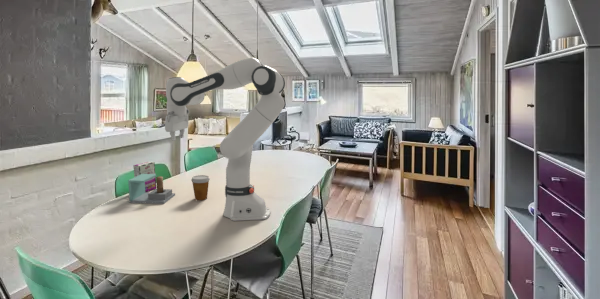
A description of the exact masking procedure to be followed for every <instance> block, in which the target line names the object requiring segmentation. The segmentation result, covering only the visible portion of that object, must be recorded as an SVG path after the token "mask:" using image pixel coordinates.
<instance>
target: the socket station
mask: <svg viewBox="0 0 600 299" xmlns="http://www.w3.org/2000/svg"><path fill="white" fill-rule="evenodd" d="M155 176H156V177H157V174H156V173H155V174H141V175H139V176H136V177H132V178H130V179H128V180H127V183H128V184H127V185H128V196H129V203H130V204H162V205H163V204H166V203H167V202H168V201H170V200H172V198H174V197H175V196H176V193H173V189H167V188H166V189H164V188H163V193H157V188H156V189H154V190H151V191H149V192H146V193H145V182H146V181H148V180H150V179H152V178H153V177H155Z"/></svg>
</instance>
